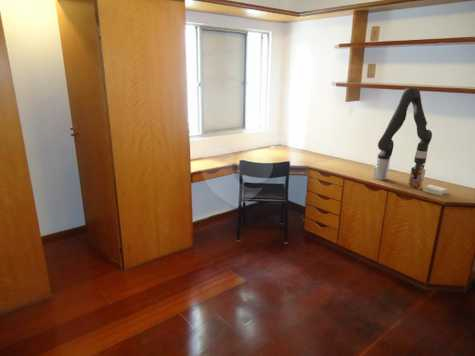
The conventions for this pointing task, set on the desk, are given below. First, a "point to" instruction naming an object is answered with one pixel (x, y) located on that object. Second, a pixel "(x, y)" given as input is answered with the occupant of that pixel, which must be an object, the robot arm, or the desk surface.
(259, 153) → the desk surface
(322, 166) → the desk surface
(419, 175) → the candy box
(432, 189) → the plinth
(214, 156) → the desk surface
